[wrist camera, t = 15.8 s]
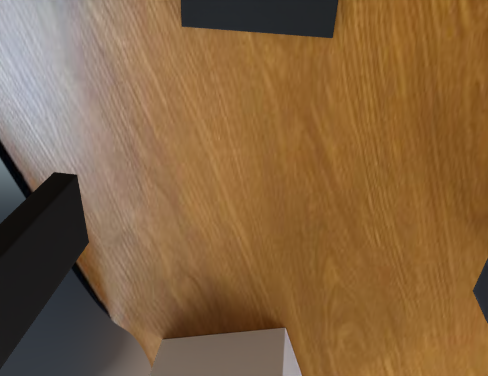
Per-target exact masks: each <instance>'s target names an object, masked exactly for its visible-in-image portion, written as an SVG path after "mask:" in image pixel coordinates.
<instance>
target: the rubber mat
mask: <svg viewBox="0 0 488 376" xmlns="http://www.w3.org/2000/svg"><path fill="white" fill-rule="evenodd" d="M337 5H338V0H181V19H182V27H195V28H208V29H221V30H234V31H247V32H260V33H273V34H286V35H299V36H312V37H325V38H333V32H334V25H335V19H336V12H337Z"/></svg>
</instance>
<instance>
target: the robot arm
mask: <svg viewBox="0 0 488 376" xmlns="http://www.w3.org/2000/svg"><path fill="white" fill-rule="evenodd" d="M88 243H89V240H88V234H87V229H86V223H85V217H84V211H83V206H82V200H81V194H80V189H79V183H78V177H77V175H74V174H66V173H57V172H54V173H53V174H52V175H51V176H50V177H49V178H48V179H47V180H46V181H45V182H43V183H42V184H41V185H40V186H39V187H38V188H37V189H36V190H35V191H34V192H33V193H32V194H31V195H30V196H29V197H28V198H27V199H26V200H25V201H24V202H23V203H22V204H21V205H20V206H19V207H17V208H16V209H15V210H14V211H13V212H12V213H11V214H10V215H9V216H8V217H7V218H6V219H5V220H4V221H3V222H2V223H1V224H0V369H1V367H2V366H3V364H4V363H5V362H6V360H7V359H8V357H9V356H10V354H11V353H12V352H13V350H14V349H15V347H16V346H17V344H18V343H19V342H20V340H21V338H22V337H23V336H24V334H25V333H26V331H27V330H28V329H29V327H30V325H31V324H32V323H33V321H34V320H35V319H36V317H37V316H38V314H39V313H40V312H41V310H42V309H43V307H44V306H45V304H46V303H47V302H48V300H49V299H50V297H51V296H52V294H53V293H54V292H55V290H56V289H57V287H58V286H59V284H60V283H61V282H62V280H63V279H64V277H65V276H66V274H67V273H68V271H69V270H70V269H71V267H72V266H73V264H74V263H75V262H76V260H77V259H78V257H79V256H80V254H81V253H82V252H83V250H84V249H85V247H86V246H87V244H88ZM473 292H474V295H475V297H476V299H477V301H478V303H479V306H480V308H481V310H482V312H483V314H484V317H485V319H486V321H487V323H488V259H487V261H486V263H485V265H484V268H483V270H482V272H481V274H480V276H479V278H478V281H477V283H476V285H475V287H474V289H473Z"/></svg>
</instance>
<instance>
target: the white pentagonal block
mask: <svg viewBox="0 0 488 376" xmlns="http://www.w3.org/2000/svg"><path fill="white" fill-rule="evenodd" d="M149 376H302V374H301V371H300V368H299V365H298V363H297V360H296V357H295V354H294V351H293V348H292V345H291V342H290V339H289V336H288V333H287V331H286V328H276V329H266V330H256V331H245V332H235V333H225V334H214V335H204V336H194V337H184V338H173V339H163V340H162V341H161V344H160V347H159V350H158V353H157V355H156V358H155V361H154V364H153V367H152V369H151V372H150V375H149Z"/></svg>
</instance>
